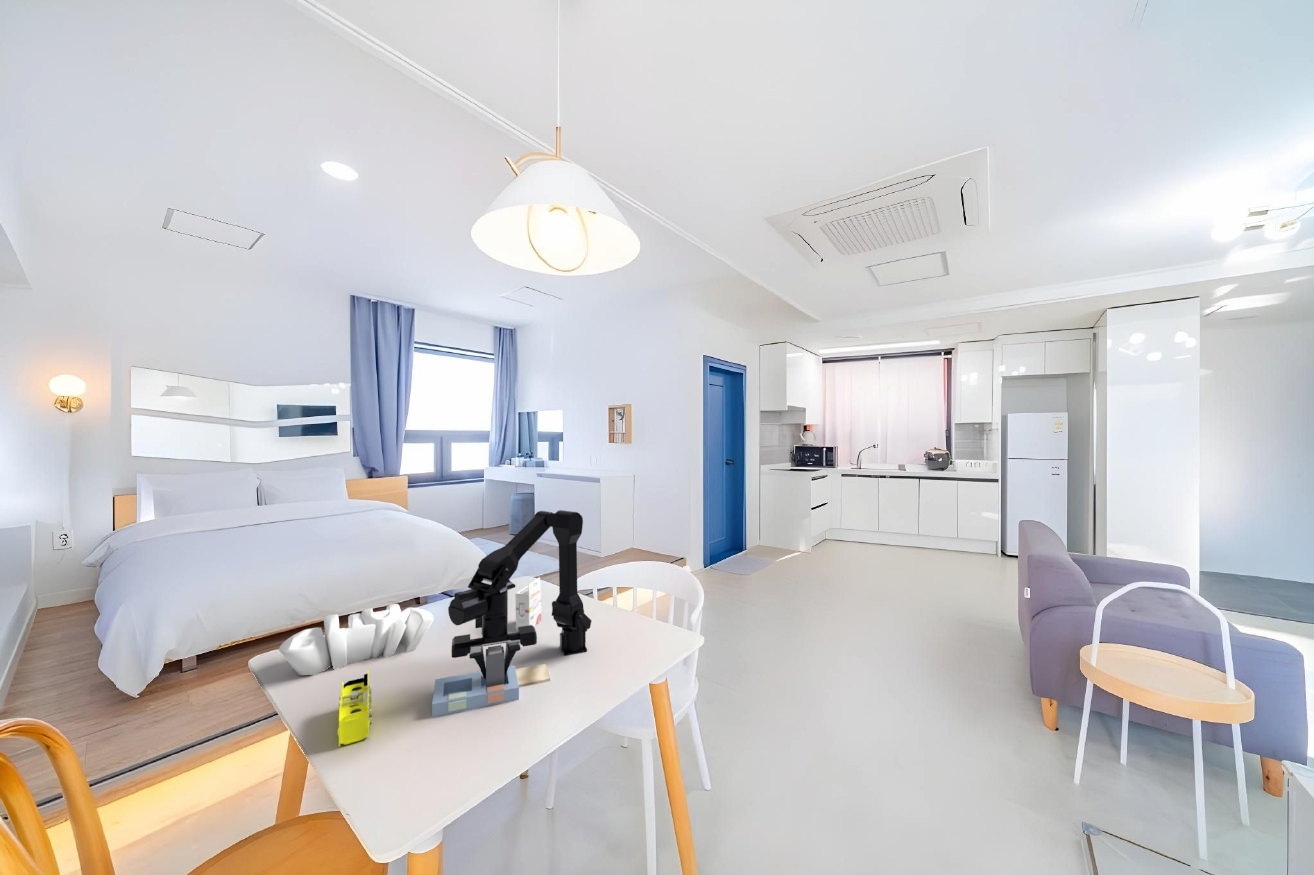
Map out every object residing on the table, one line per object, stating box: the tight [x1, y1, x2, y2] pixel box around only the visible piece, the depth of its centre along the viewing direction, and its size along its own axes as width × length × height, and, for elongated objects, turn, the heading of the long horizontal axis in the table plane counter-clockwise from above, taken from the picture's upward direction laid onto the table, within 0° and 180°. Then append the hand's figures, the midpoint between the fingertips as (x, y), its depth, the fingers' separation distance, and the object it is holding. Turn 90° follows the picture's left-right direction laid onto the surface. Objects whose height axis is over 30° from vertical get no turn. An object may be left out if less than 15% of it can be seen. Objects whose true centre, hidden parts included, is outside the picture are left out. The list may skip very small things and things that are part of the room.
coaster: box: [515, 663, 551, 688], centre depth 116 cm, size 8×8×1 cm
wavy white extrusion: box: [278, 603, 435, 676], centre depth 127 cm, size 35×16×11 cm, turn 123°
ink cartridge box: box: [515, 576, 542, 631], centre depth 148 cm, size 9×5×15 cm, turn 168°
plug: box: [485, 644, 505, 688], centre depth 109 cm, size 4×4×9 cm
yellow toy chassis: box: [337, 669, 372, 747], centre depth 97 cm, size 16×6×8 cm, turn 32°
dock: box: [431, 665, 520, 719], centre depth 107 cm, size 18×11×3 cm, turn 112°
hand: (494, 676), depth 109 cm, fingers closed on plug, 4 cm apart
